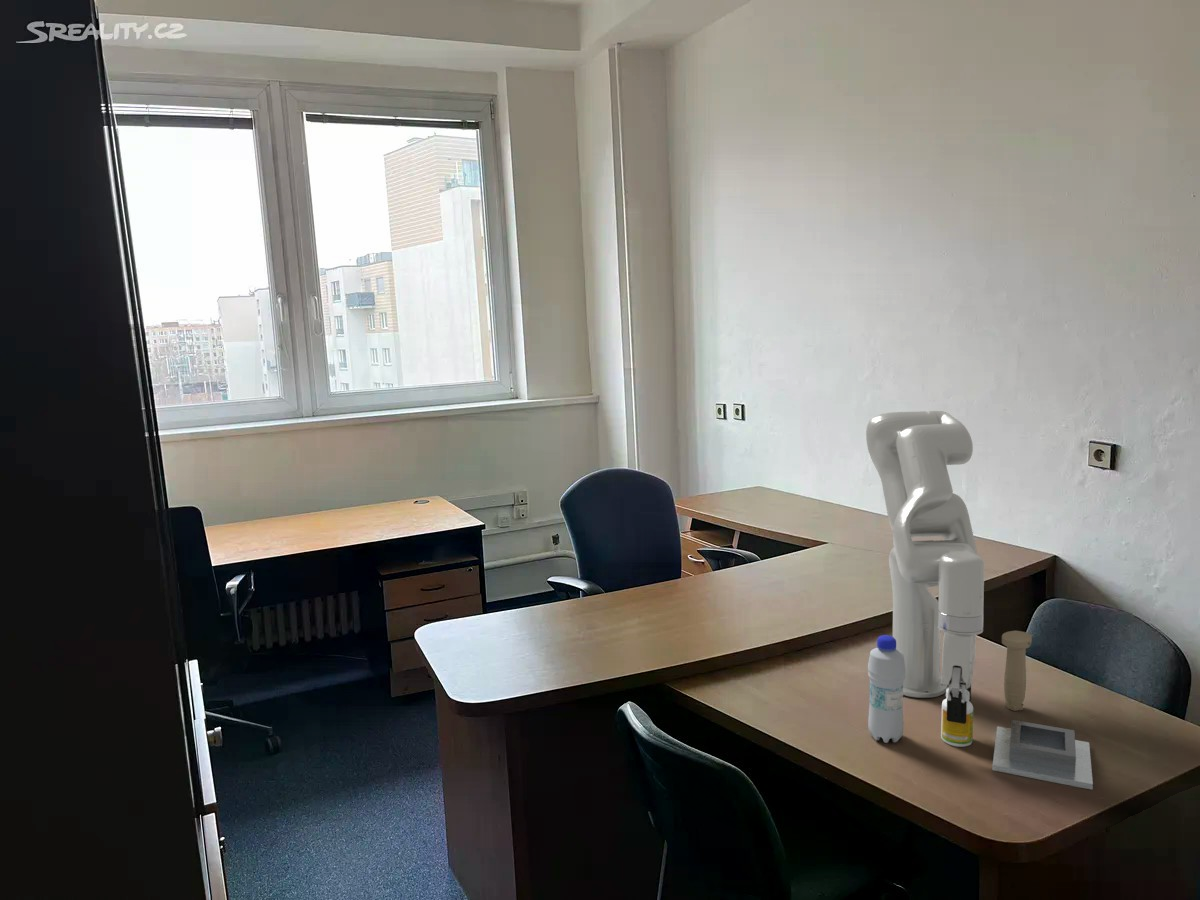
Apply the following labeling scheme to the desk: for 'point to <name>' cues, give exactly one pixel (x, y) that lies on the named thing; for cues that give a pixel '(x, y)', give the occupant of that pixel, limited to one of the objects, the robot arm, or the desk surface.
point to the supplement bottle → (957, 725)
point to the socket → (1043, 754)
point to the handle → (1015, 668)
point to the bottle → (886, 690)
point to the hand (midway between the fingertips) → (959, 710)
